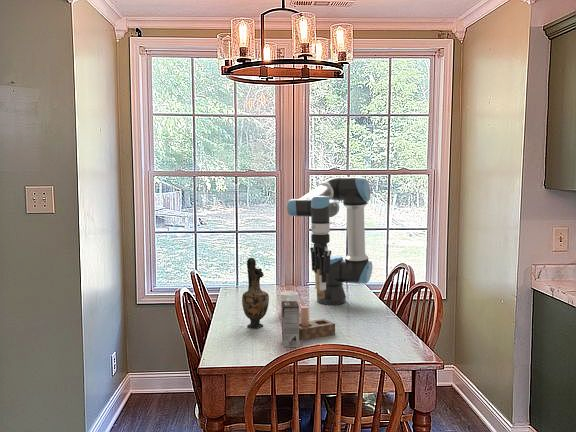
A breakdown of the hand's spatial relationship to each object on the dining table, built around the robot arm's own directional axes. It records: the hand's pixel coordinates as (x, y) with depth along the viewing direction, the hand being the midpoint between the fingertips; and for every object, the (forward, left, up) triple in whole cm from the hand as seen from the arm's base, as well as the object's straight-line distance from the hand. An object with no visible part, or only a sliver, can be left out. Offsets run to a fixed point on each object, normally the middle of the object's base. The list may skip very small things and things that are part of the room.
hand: (320, 289), depth 229 cm
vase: (+20, -23, -19) cm, 36 cm away
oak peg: (0, 0, -4) cm, 4 cm away
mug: (-1, -31, -19) cm, 36 cm away
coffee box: (+18, +6, -19) cm, 27 cm away
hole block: (+4, 0, -19) cm, 19 cm away
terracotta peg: (+8, 0, -19) cm, 20 cm away
